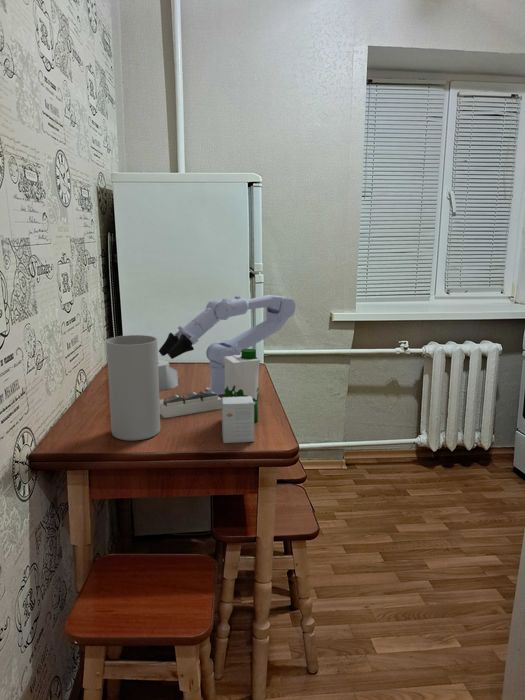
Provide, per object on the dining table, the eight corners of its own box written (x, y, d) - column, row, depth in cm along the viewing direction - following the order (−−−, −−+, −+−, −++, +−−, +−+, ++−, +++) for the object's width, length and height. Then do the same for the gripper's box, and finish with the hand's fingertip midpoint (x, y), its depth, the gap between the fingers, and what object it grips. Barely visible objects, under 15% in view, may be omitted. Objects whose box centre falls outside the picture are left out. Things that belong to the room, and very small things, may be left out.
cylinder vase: (162, 439, 132) (159, 343, 127) (112, 444, 129) (106, 346, 123) (158, 422, 144) (154, 334, 138) (111, 426, 140) (106, 336, 135)
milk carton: (262, 422, 144) (262, 352, 140) (231, 426, 141) (231, 355, 137) (250, 412, 152) (250, 346, 148) (221, 416, 149) (220, 348, 144)
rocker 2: (196, 395, 155) (195, 391, 154) (199, 398, 152) (198, 393, 152) (182, 400, 153) (181, 396, 152) (186, 403, 151) (185, 398, 150)
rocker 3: (212, 396, 157) (213, 391, 157) (216, 398, 155) (217, 393, 155) (199, 395, 155) (200, 390, 155) (202, 397, 153) (203, 392, 153)
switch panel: (223, 399, 164) (223, 387, 163) (234, 406, 157) (234, 393, 157) (155, 409, 154) (155, 397, 153) (164, 418, 147) (163, 404, 146)
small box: (252, 433, 136) (252, 395, 134) (254, 442, 131) (254, 402, 129) (221, 435, 135) (221, 396, 133) (222, 443, 130) (222, 403, 128)
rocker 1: (178, 398, 152) (177, 393, 152) (182, 400, 150) (181, 396, 149) (164, 403, 150) (163, 398, 150) (167, 406, 148) (166, 401, 147)
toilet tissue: (184, 385, 179) (183, 361, 177) (150, 393, 170) (149, 368, 168) (169, 380, 185) (168, 356, 183) (136, 387, 176) (135, 362, 174)
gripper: (181, 316, 167) (149, 342, 163) (200, 318, 155) (166, 347, 150) (193, 333, 170) (162, 359, 165) (213, 336, 158) (179, 365, 153)
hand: (165, 354), depth 158 cm, fingers open, 7 cm apart
